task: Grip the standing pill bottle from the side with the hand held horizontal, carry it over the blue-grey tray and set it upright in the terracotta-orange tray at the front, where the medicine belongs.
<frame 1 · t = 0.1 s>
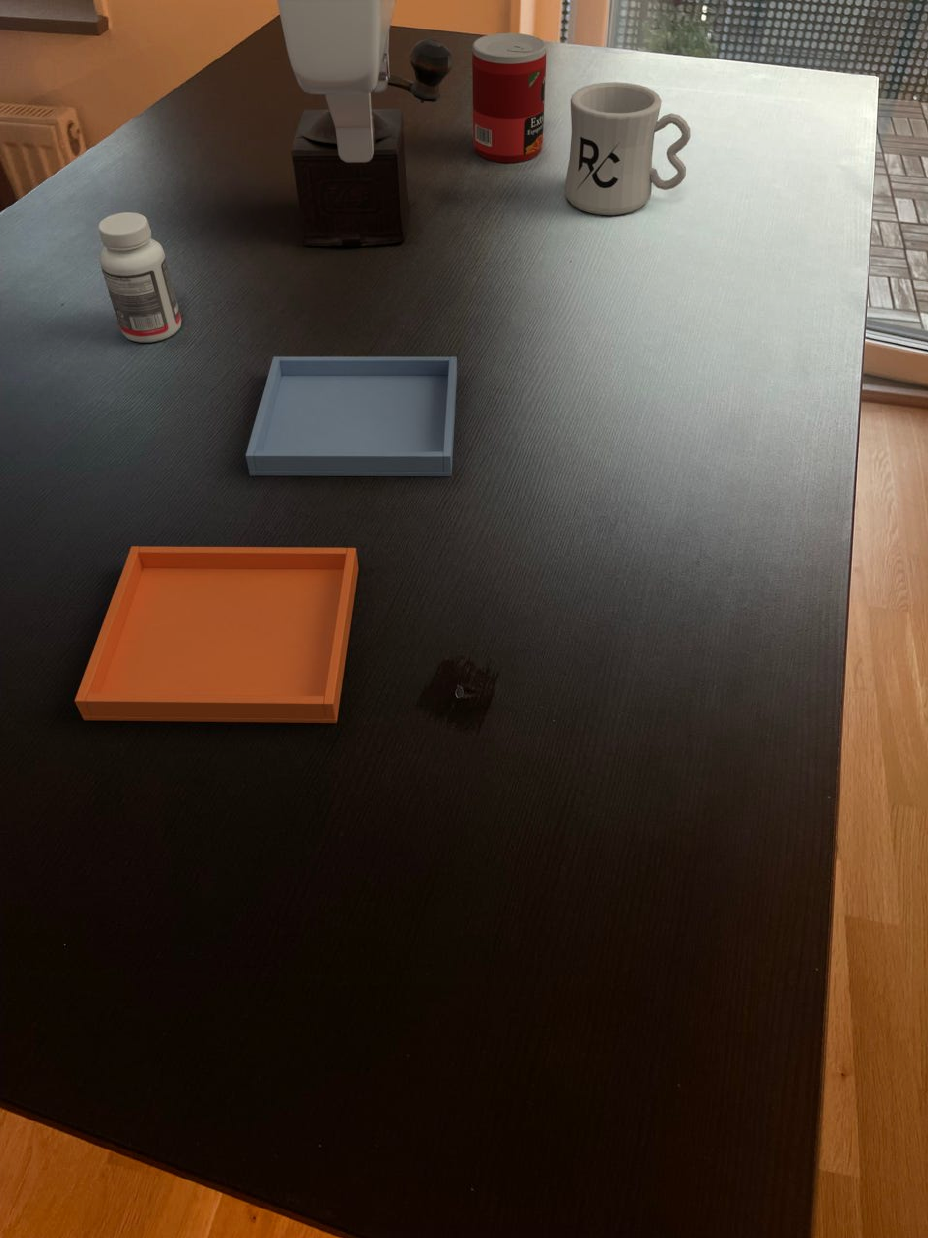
hand: (366, 120, 55), 26 cm above the table, tool pointing down, fingers open, 8 cm apart
pill bottle: (152, 330, 89), on the table
mug: (622, 202, 105), on the table
orange tray: (230, 639, 64), on the table
blue tray: (358, 423, 79), on the table
canned food: (507, 151, 114), on the table
manual coffee grinder: (381, 225, 102), on the table
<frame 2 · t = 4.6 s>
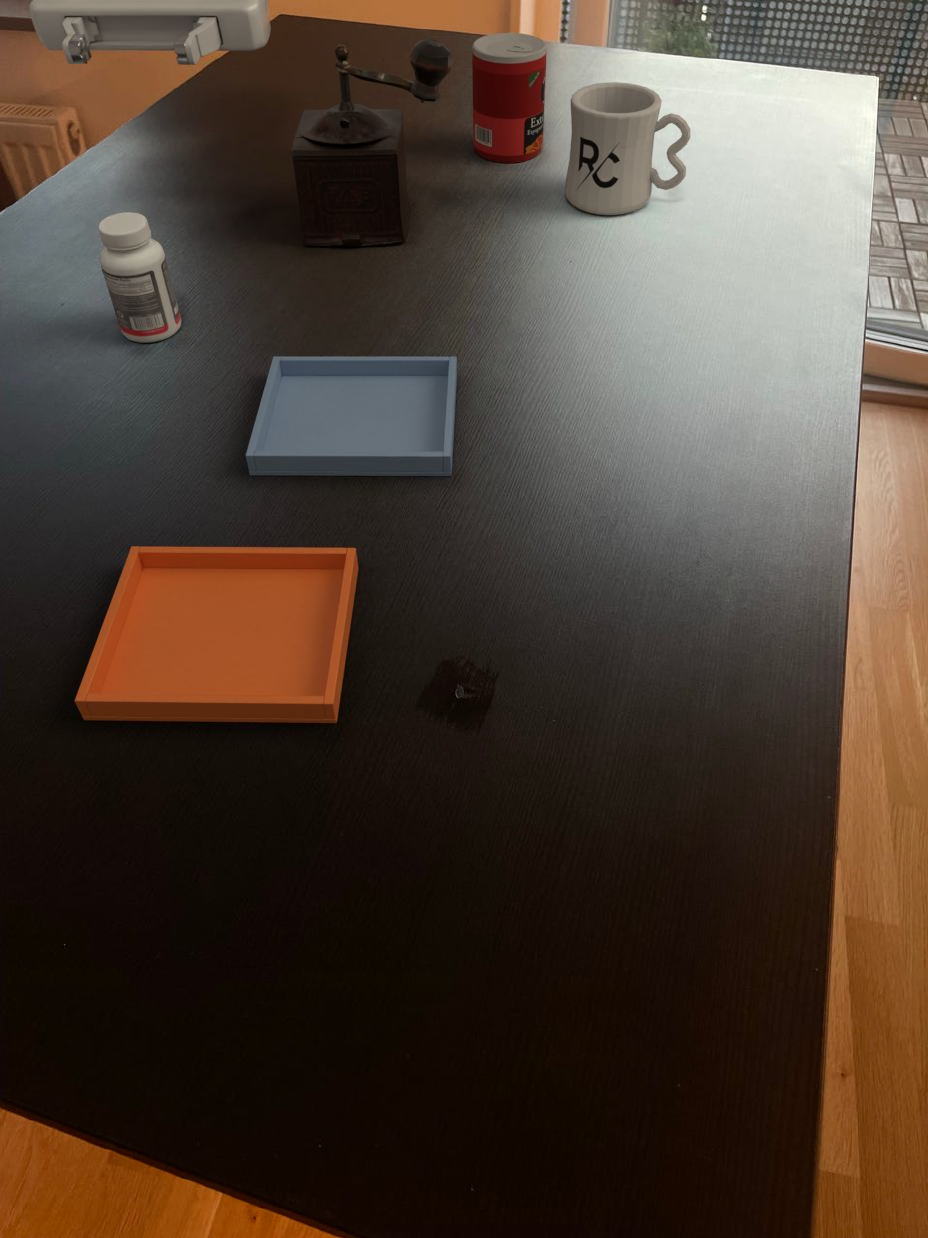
hand: (128, 54, 82), 19 cm above the table, tool horizontal, fingers open, 8 cm apart
nothing on the table moved.
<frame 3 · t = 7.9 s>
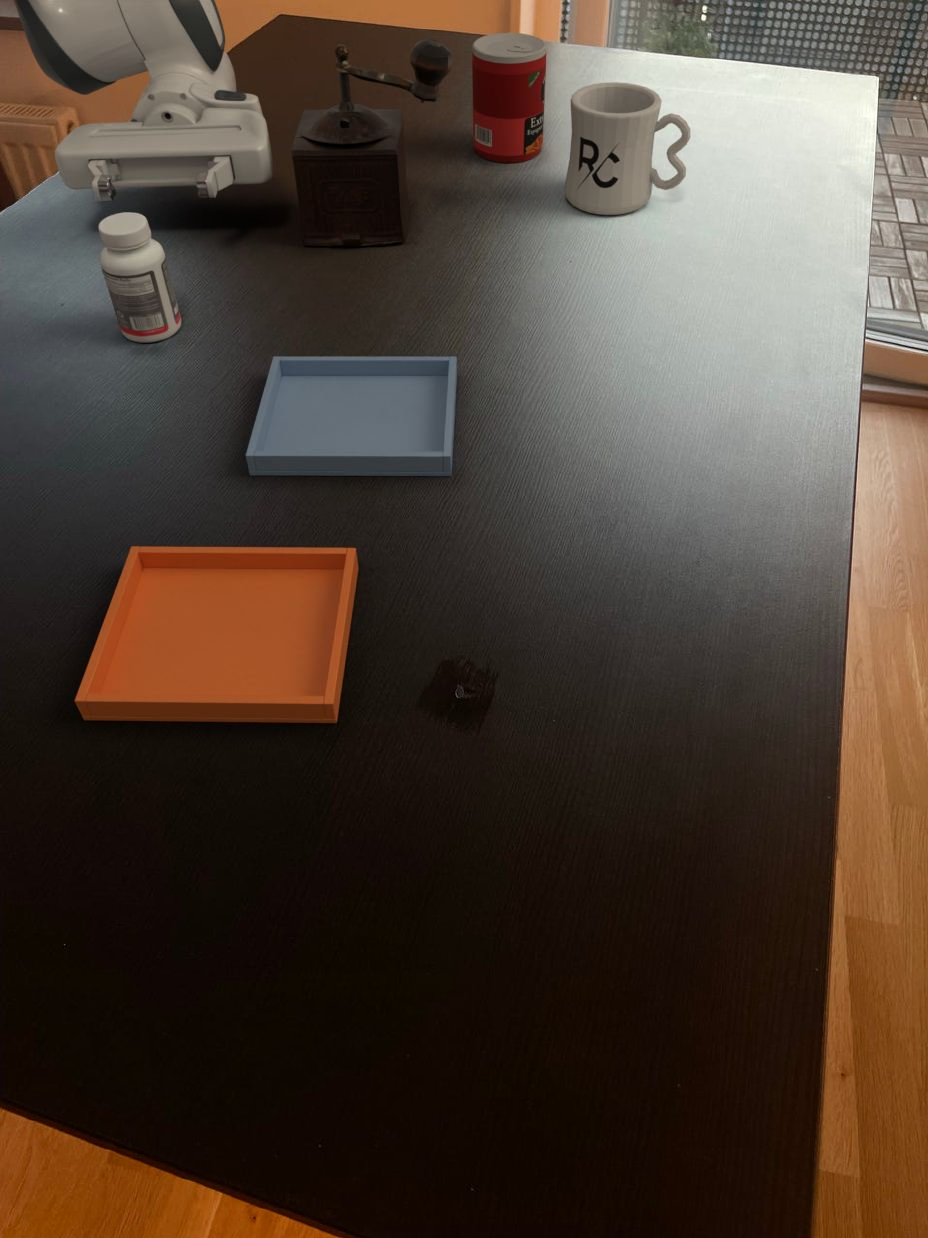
hand: (153, 191, 91), 8 cm above the table, tool horizontal, fingers open, 8 cm apart
nothing on the table moved.
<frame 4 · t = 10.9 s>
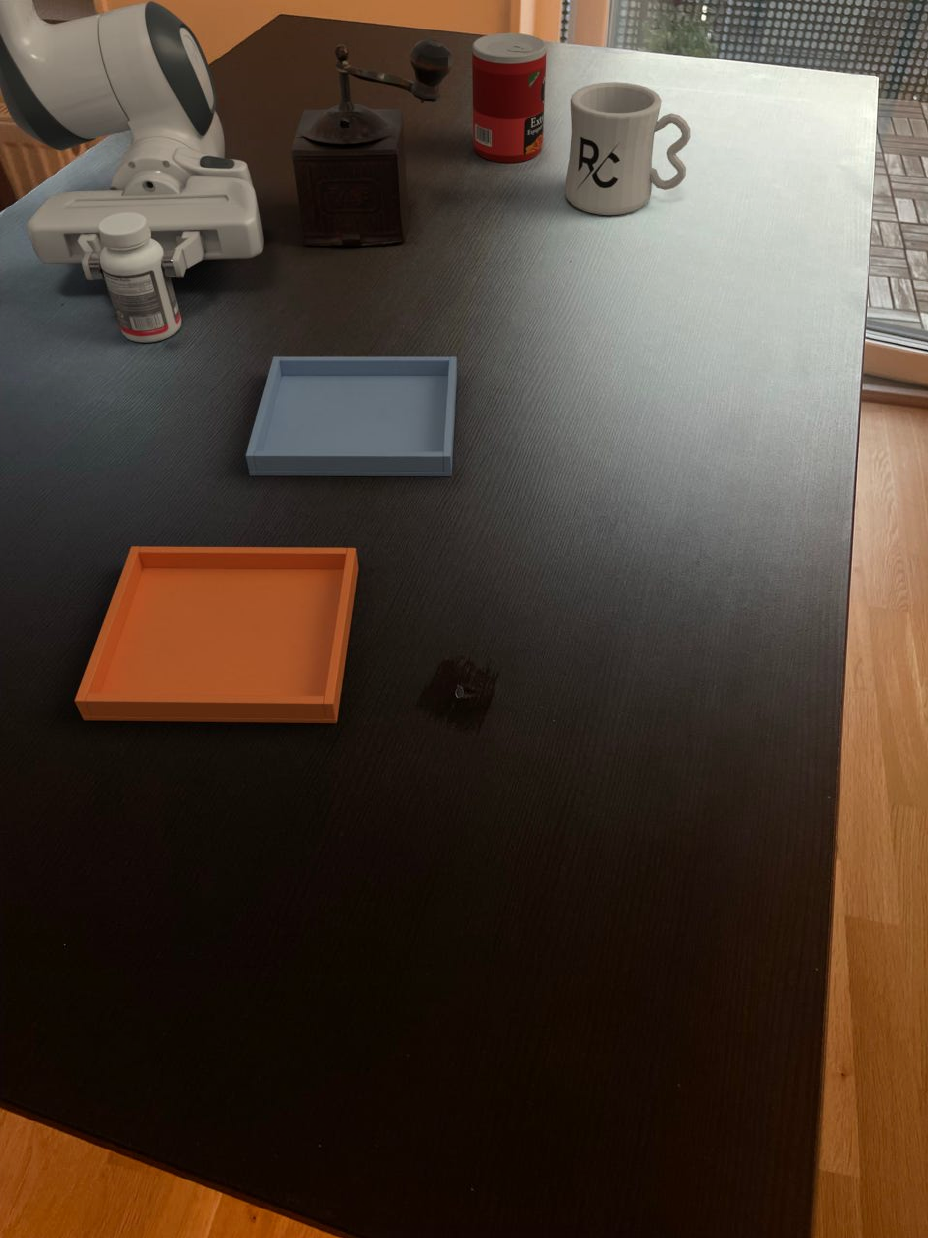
hand: (132, 270, 84), 6 cm above the table, tool horizontal, fingers closed on pill bottle, 5 cm apart
pill bottle: (152, 330, 89), on the table, touching gripper
everything else where it was.
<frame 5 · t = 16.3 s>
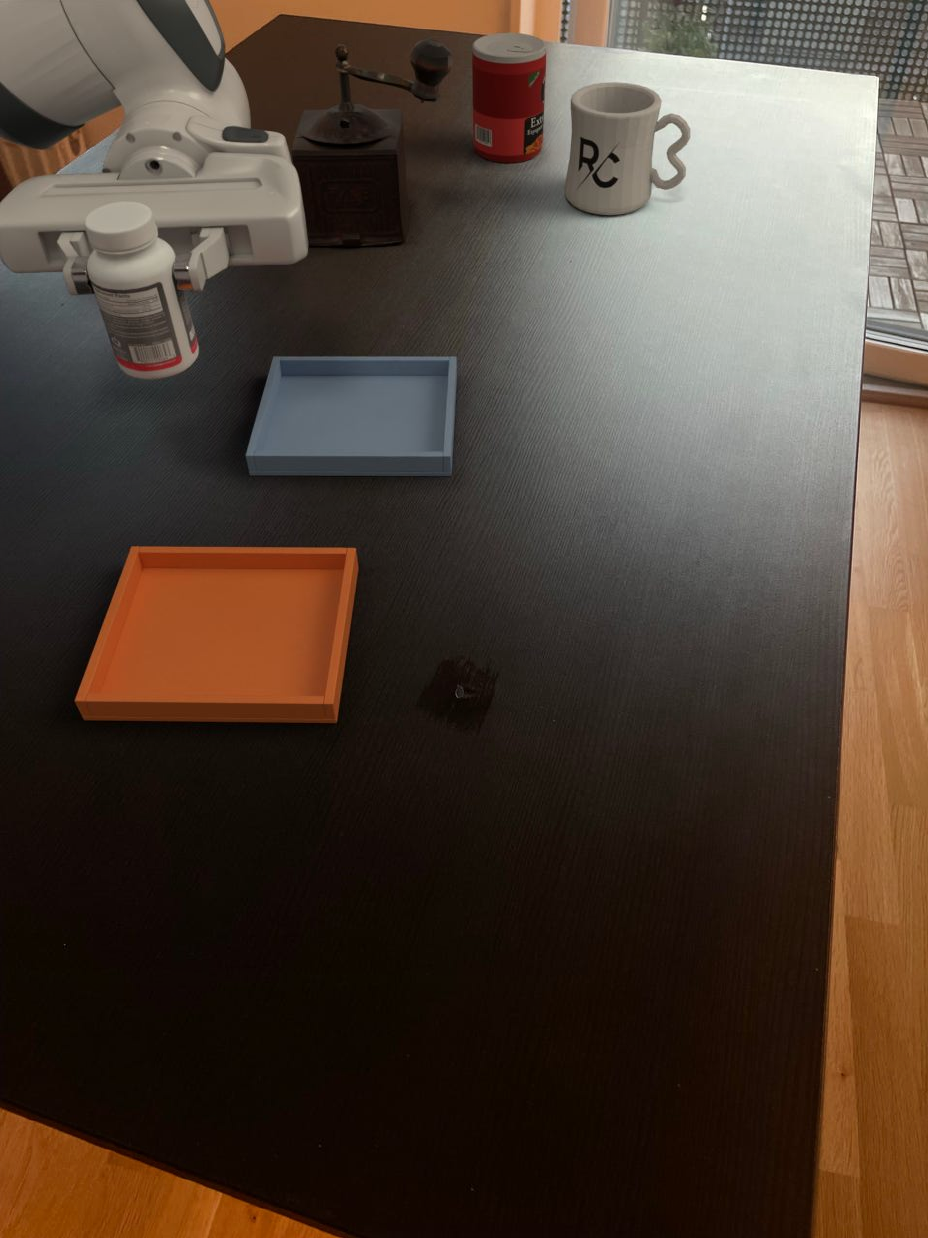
hand: (133, 282, 61), 17 cm above the table, tool horizontal, fingers closed on pill bottle, 5 cm apart
pill bottle: (160, 361, 66), point 11 cm above the table, touching gripper
everything else where it was.
when the fingers open (6 cm above the table, at t = 21.7 s): pill bottle stays where it is, resting on orange tray.
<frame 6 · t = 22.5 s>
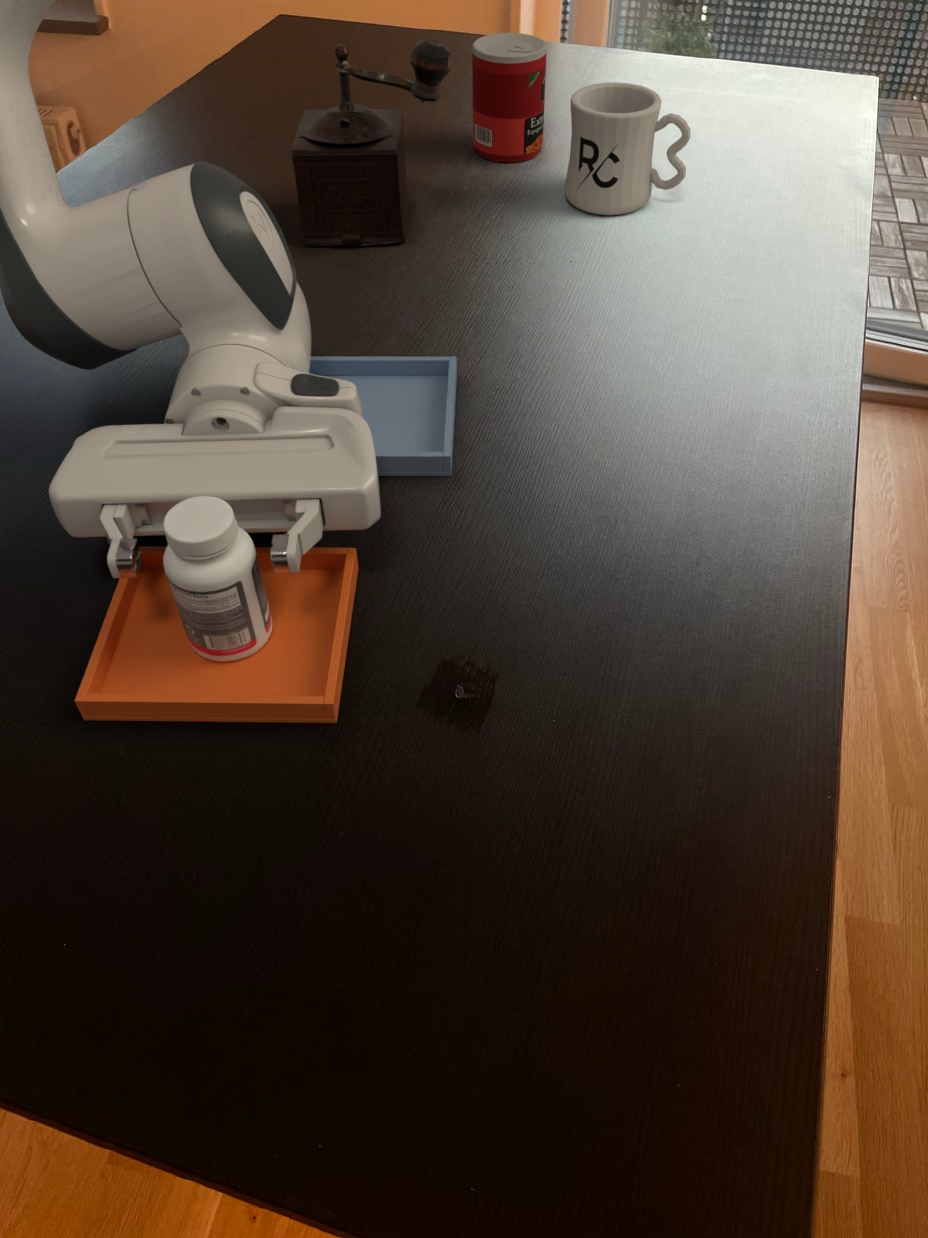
hand: (203, 568, 58), 7 cm above the table, tool horizontal, fingers open, 8 cm apart
pill bottle: (231, 635, 64), resting on orange tray
everything else where it was.
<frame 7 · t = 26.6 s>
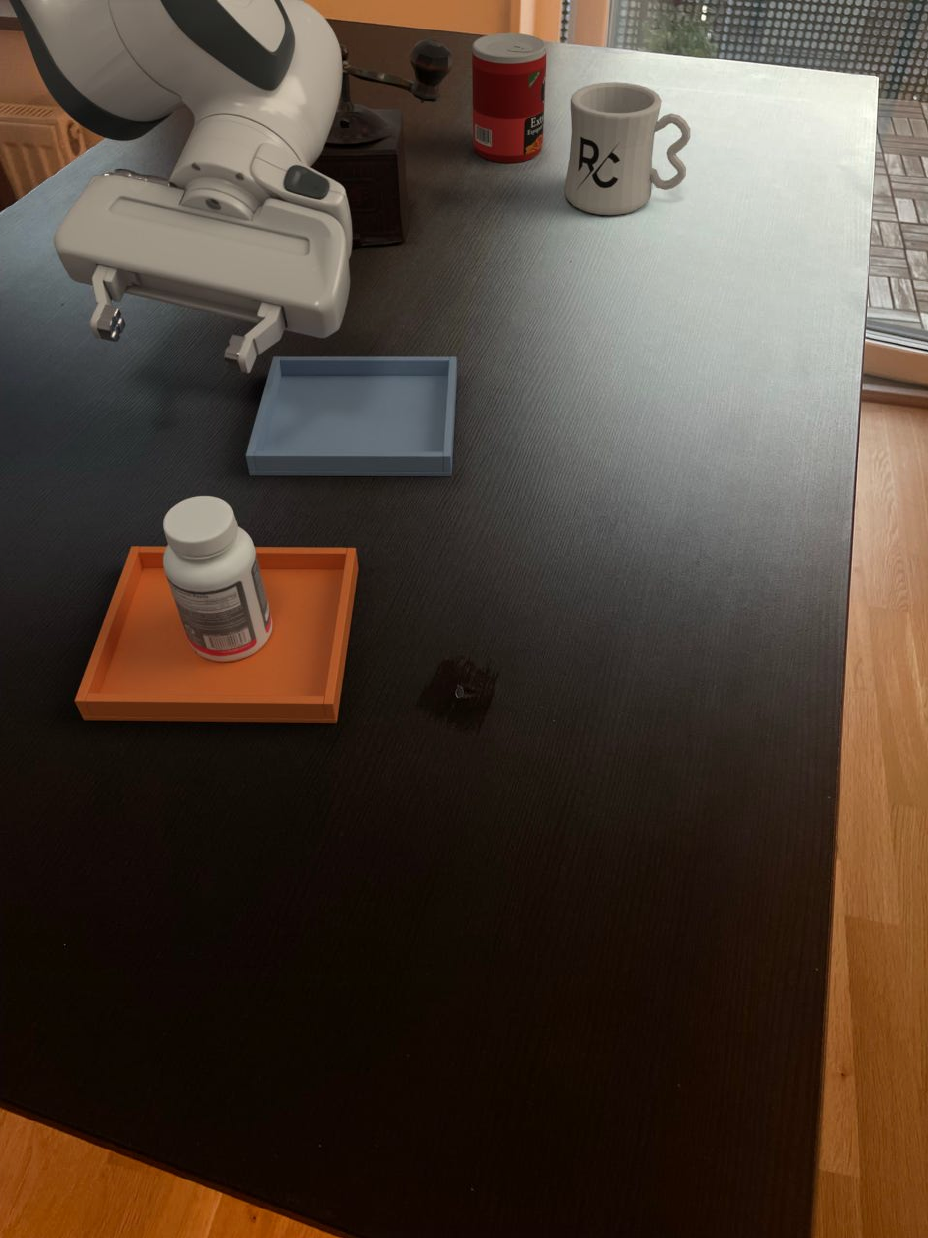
hand: (169, 350, 67), 11 cm above the table, tool tilted 70°, fingers open, 8 cm apart
nothing on the table moved.
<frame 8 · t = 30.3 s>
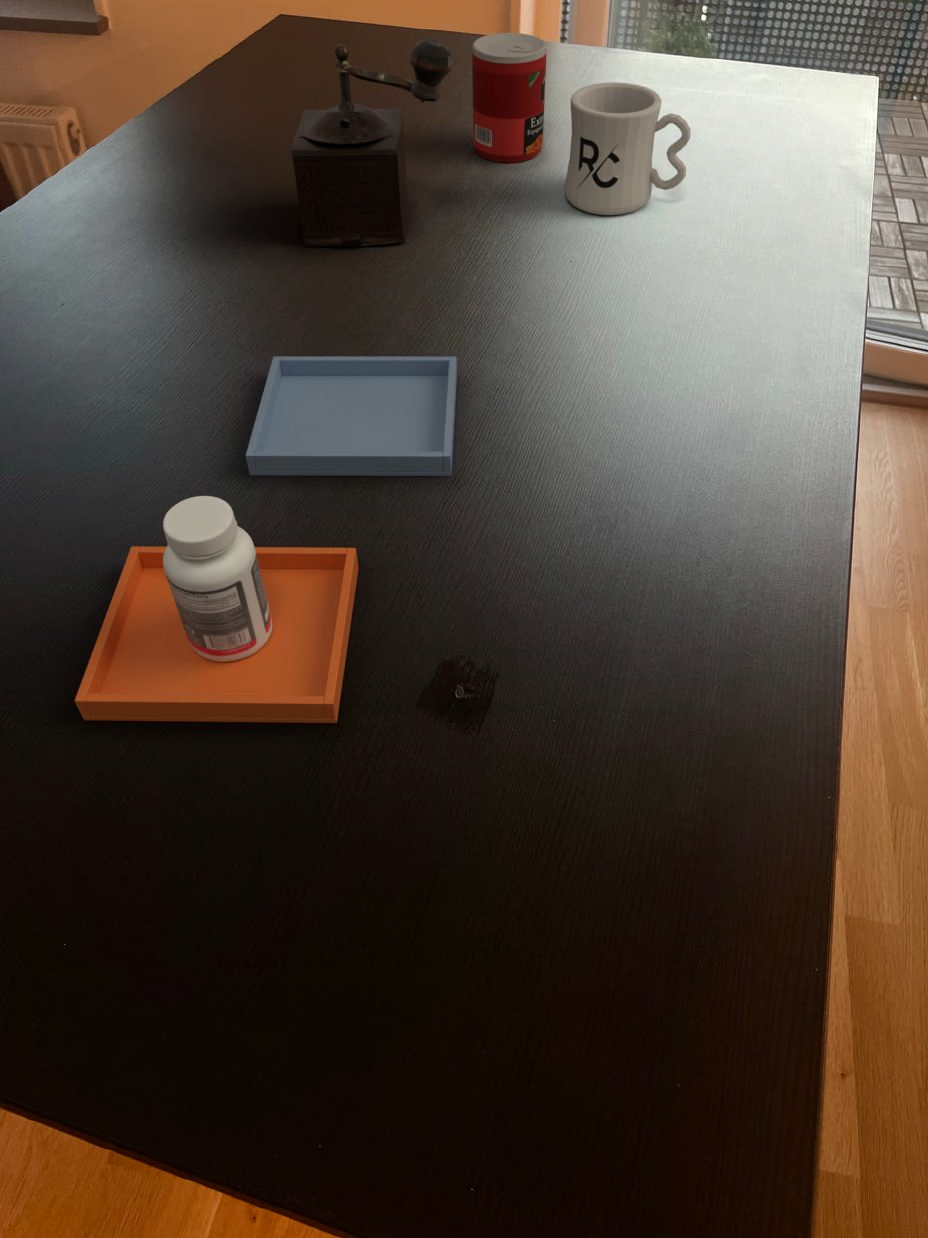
nothing on the table moved.
at the end: pill bottle inside the target area in the orange tray (0.2 cm from its centre), point 0.2 cm above the orange tray's base; pill bottle tilted 0°; the gripper is holding nothing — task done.
